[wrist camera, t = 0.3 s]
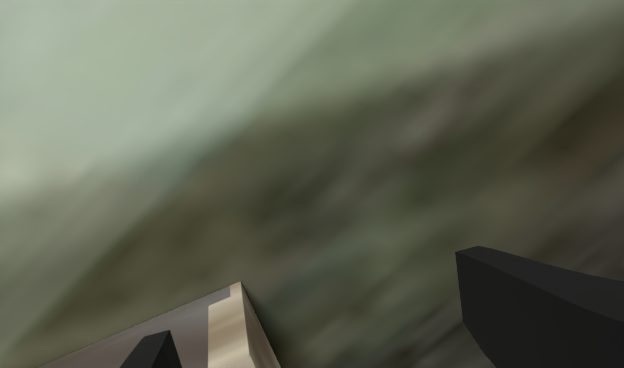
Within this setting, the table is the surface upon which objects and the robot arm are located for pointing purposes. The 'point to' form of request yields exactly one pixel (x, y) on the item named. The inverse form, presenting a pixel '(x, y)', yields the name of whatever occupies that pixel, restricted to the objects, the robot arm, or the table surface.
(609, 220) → the table surface
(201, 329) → the cleat board
